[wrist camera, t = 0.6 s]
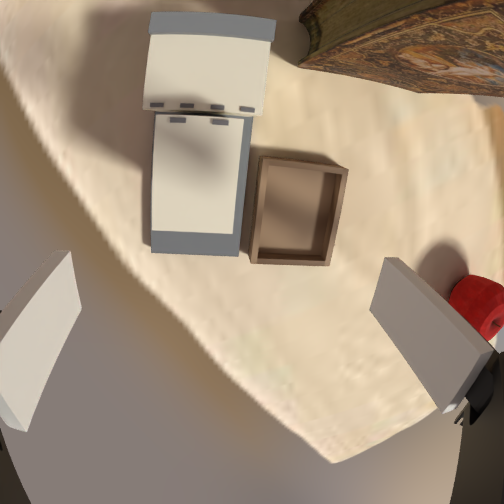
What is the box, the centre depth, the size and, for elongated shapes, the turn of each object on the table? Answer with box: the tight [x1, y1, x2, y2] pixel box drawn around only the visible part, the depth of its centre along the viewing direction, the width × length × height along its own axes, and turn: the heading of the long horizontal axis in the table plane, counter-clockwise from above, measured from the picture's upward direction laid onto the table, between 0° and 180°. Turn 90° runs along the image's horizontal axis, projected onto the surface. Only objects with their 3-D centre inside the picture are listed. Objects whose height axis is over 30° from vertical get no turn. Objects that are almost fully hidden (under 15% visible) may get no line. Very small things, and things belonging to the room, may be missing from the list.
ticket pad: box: [142, 12, 276, 117], centre depth 20 cm, size 7×8×9 cm
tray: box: [248, 156, 349, 266], centre depth 31 cm, size 11×9×2 cm
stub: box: [152, 114, 244, 234], centre depth 22 cm, size 7×5×11 cm
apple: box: [448, 275, 504, 341], centre depth 36 cm, size 10×10×11 cm
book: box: [298, 0, 504, 97], centre depth 15 cm, size 16×6×25 cm, turn 88°
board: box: [151, 111, 253, 257], centre depth 28 cm, size 22×9×1 cm, turn 174°
